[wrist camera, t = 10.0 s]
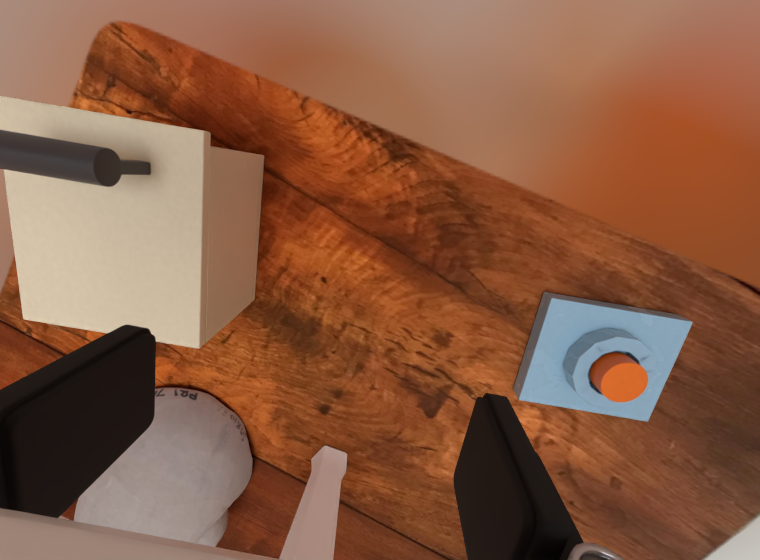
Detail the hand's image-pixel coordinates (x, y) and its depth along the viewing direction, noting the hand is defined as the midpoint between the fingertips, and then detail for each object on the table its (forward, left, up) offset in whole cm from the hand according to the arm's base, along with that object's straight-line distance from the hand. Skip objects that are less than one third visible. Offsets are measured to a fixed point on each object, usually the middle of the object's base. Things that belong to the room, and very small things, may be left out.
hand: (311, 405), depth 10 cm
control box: (+6, +22, -22) cm, 31 cm away
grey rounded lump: (+25, -15, -22) cm, 36 cm away
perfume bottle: (+23, 0, -22) cm, 32 cm away
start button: (+6, +22, -18) cm, 29 cm away
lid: (0, -15, -13) cm, 20 cm away
